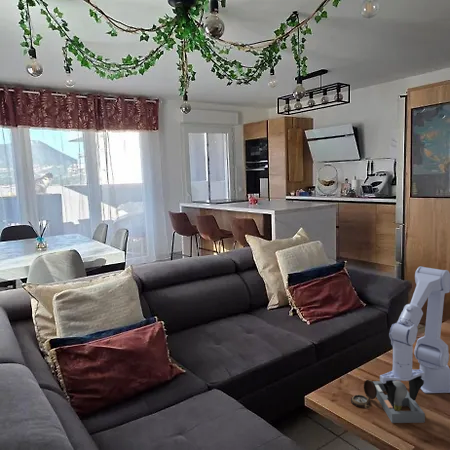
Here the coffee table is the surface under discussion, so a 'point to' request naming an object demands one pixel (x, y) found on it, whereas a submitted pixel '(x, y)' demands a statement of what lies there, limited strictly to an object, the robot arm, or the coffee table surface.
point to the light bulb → (399, 395)
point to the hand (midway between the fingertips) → (401, 400)
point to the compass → (370, 393)
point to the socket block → (401, 416)
